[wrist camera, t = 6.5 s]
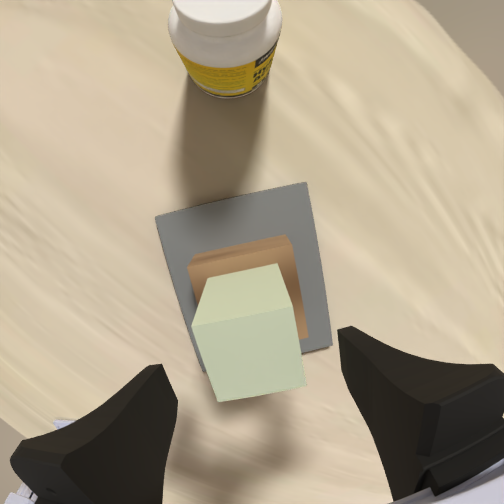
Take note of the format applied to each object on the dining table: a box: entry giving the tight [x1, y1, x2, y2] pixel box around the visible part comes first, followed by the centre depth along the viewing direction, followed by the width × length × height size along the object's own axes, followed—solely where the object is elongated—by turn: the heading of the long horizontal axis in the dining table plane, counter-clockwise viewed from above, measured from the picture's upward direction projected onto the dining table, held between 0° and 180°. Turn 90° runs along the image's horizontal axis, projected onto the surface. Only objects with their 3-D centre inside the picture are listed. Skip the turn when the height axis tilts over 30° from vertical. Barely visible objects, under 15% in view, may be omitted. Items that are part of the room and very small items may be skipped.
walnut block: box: [187, 234, 309, 340], centre depth 20 cm, size 6×6×3 cm
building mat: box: [155, 182, 333, 372], centre depth 21 cm, size 12×10×1 cm
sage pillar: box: [191, 263, 307, 402], centre depth 15 cm, size 4×4×6 cm
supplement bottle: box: [168, 0, 282, 98], centre depth 13 cm, size 5×5×10 cm
